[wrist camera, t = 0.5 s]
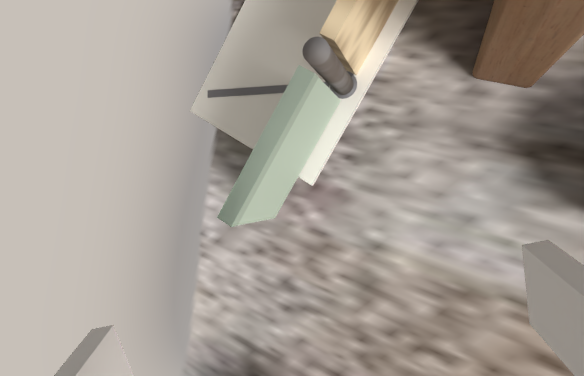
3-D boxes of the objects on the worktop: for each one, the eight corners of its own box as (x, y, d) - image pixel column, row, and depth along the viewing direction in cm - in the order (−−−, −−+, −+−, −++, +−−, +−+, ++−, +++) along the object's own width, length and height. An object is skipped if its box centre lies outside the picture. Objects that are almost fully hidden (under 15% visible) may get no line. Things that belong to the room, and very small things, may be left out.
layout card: (299, -103, 38) (297, -106, 38) (444, -46, 35) (444, -49, 34) (191, 111, 42) (189, 110, 41) (313, 185, 38) (311, 185, 37)
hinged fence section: (328, 94, 37) (298, 64, 28) (341, 100, 36) (314, 73, 28) (263, 211, 39) (217, 217, 30) (275, 218, 38) (231, 226, 30)
